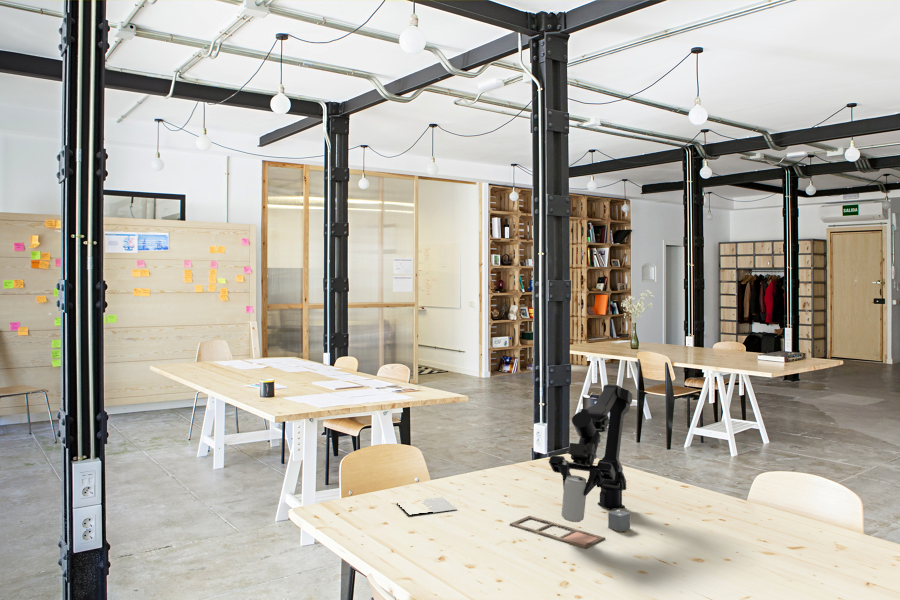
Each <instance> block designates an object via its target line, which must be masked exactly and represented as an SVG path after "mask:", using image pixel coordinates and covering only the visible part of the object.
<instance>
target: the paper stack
mask: <svg viewBox="0 0 900 600" xmlns="http://www.w3.org/2000/svg"><path fill="white" fill-rule="evenodd" d="M423 500H424V501H423V502H424V503H422V504H424V505H428V506H426V507H429V506H432V507H429V508H428V509H429V510H431V511H432V512H433V513H438V512H439V513H441V512H446V511H454V510H455V511H456V510H458V508H457V507H456V506H454V505H453V504H452V503H450V502H449V501H448V500H447V499H446V498H444V497H443V496H438V497H432V498H429V497H428V498H423ZM427 503H429V504H427Z"/></svg>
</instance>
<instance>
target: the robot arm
mask: <svg viewBox="0 0 900 600" xmlns="http://www.w3.org/2000/svg"><path fill="white" fill-rule="evenodd" d="M632 402H633V394H632V392H630V390H628V389H626V388H624V387H621V386H620V385H618V384H610V383H609V384H608V383H606V384H604V385H603V389H602V392H601V393H600V394H599V397H597V399H596V401H595V402H594V405H591V406H588V407H587V408H582V409H581V410H580V411H578V412H577V413H576V414H574V415H573V416H572V418H571V422H572V425H573V426H574V429H575V431H576V434H577V436H578V437H579V440H578V443H575V442H569V446H568V447H569V448H568V453H567V454H568V455H570V459H571V460H572V461H568V460H566V458H565V456H563V455H556V454H552V455H551V456H550V457H549V460H548V463H549V465H550V467H551V470H552V472H554V473H558V474H561V476H562V486H563V490H564V483H565V480H566V479H567V478H566V477H567V476H569V475H572V474H571V472H570V471H571V470H575V471H582V472H589V473H588V479H587V480H586V483H587V484H586V487H585V490H584V496H586V497H587V495H588V494H590V492H591V491H592V490H593V489H594V488H600V492H599V502H597V505H599V506H601V507H603V508H604V509H606V510H609V511H613V510H619V509H625V508H626V505H624V504H623V491H626V490H627V480H626V478H625V477H626V476H625V474H624V472H623V471H624V468H623V465H622V464H621V461H620V451H621V443H622V434H623V427H624V418H625V416H626V415H627V413H629V411H630V407H631V404H632ZM608 415H609V416H608ZM606 429H607V434H606V435H607V436H606V442H605V449H604V450H605V451H604V456H603V457H602V458H601V459H599V460H598V462H597V464H596V465H594V462H595V460H596V459H597V451H598V448H599V443H601V434H600V432H599V431H605V430H606Z"/></svg>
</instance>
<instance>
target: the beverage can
mask: <svg viewBox="0 0 900 600" xmlns="http://www.w3.org/2000/svg"><path fill="white" fill-rule="evenodd" d="M566 478H567V479H566V480H565V483H564V489H563V494H562V505H561V517H562V518H563V519H564V520H565V521H567V522H571V523H580V522H581V521H583V520H584V518H585V510H586V499H587V495H586V496H584V490H585V487H586V484H587V478H585V477H582V476H580V475H572V474H571V475H569V476H567V477H566Z"/></svg>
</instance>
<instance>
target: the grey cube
mask: <svg viewBox="0 0 900 600" xmlns="http://www.w3.org/2000/svg"><path fill="white" fill-rule="evenodd" d="M607 516H608V517H607V518H608V519H607V521H608V523H607V525H608V527H607V528H609V529H612V530H615V531H617V532H620V533H621V532H623V531H624V532H625V531H627V530H630V529H631V512H627V511H624V510H620V509H614V510H611V511H610V512H608V513H607Z"/></svg>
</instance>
